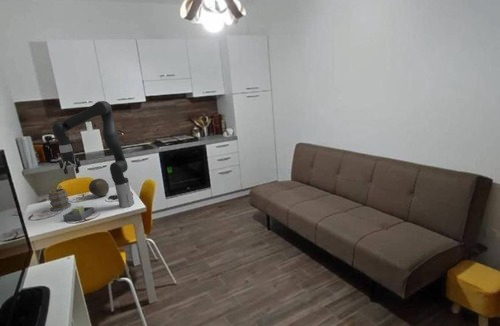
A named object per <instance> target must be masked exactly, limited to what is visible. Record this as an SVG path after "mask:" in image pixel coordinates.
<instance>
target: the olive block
mask: <svg viewBox="0 0 500 326" xmlns="http://www.w3.org/2000/svg"><path fill="white" fill-rule="evenodd" d="M84 208H85V207H84V205H82V206H81V205H78V206H75V207H73V208H72V209H71V211H72V212H73V215H80V214H82V213H84V212H85V211H84Z"/></svg>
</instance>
